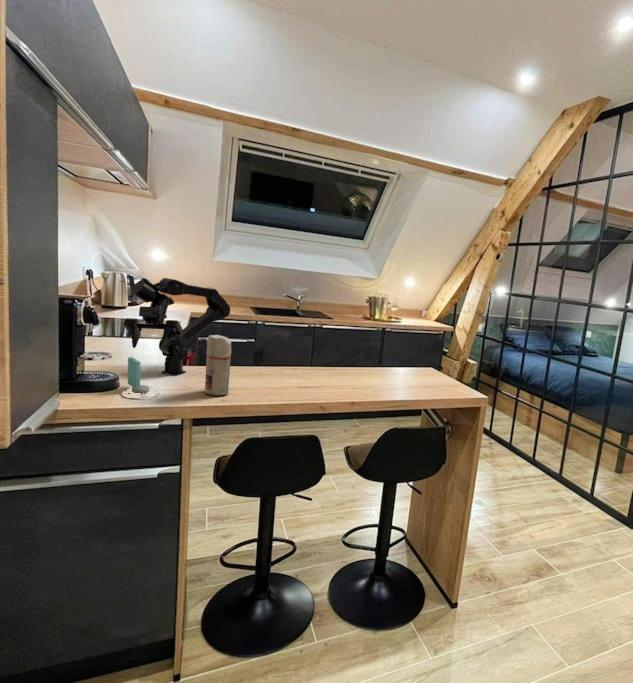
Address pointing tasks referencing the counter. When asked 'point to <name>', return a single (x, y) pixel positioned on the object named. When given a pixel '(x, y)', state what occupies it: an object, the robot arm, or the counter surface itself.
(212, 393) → the spray can
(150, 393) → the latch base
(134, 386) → the teal panel
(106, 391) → the counter surface
